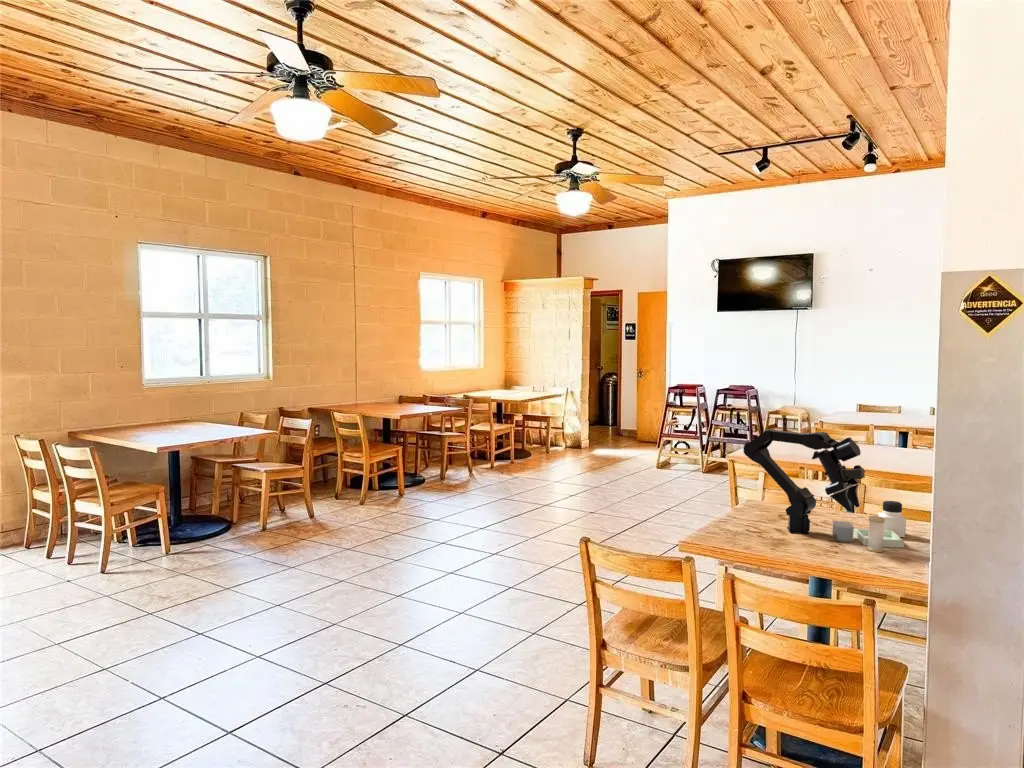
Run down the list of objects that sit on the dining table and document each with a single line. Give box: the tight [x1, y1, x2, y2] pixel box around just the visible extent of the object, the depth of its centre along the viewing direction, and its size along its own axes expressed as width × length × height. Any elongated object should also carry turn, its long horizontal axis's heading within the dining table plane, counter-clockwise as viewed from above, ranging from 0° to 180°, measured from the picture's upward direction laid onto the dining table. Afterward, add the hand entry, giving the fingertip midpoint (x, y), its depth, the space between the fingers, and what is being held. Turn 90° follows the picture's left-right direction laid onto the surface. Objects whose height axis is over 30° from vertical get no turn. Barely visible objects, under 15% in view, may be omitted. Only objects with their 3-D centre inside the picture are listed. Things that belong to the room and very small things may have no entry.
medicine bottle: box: [877, 500, 907, 538], centre depth 254 cm, size 7×7×12 cm
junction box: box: [831, 520, 855, 544], centre depth 249 cm, size 5×9×5 cm, turn 168°
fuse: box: [867, 515, 885, 554], centre depth 235 cm, size 5×5×11 cm
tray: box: [853, 527, 905, 549], centre depth 246 cm, size 12×12×2 cm
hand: (854, 508), depth 243 cm, fingers open, 9 cm apart
